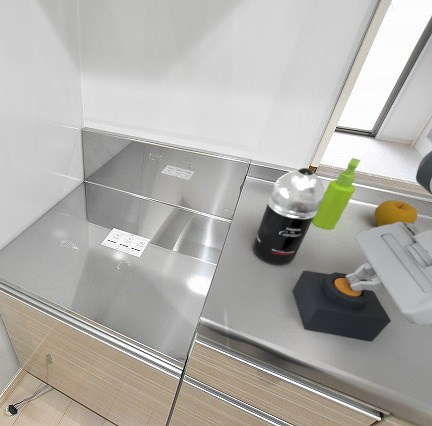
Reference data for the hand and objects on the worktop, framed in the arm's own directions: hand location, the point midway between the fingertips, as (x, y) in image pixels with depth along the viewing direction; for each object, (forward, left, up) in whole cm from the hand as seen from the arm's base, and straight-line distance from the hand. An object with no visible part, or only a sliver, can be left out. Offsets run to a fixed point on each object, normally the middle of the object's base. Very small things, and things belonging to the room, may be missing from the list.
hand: (349, 284), depth 57 cm
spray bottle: (+19, -2, -10) cm, 21 cm away
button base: (0, 0, -10) cm, 10 cm away
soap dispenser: (+25, -26, -10) cm, 37 cm away
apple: (+17, -40, -10) cm, 45 cm away
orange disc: (0, 0, -3) cm, 3 cm away
